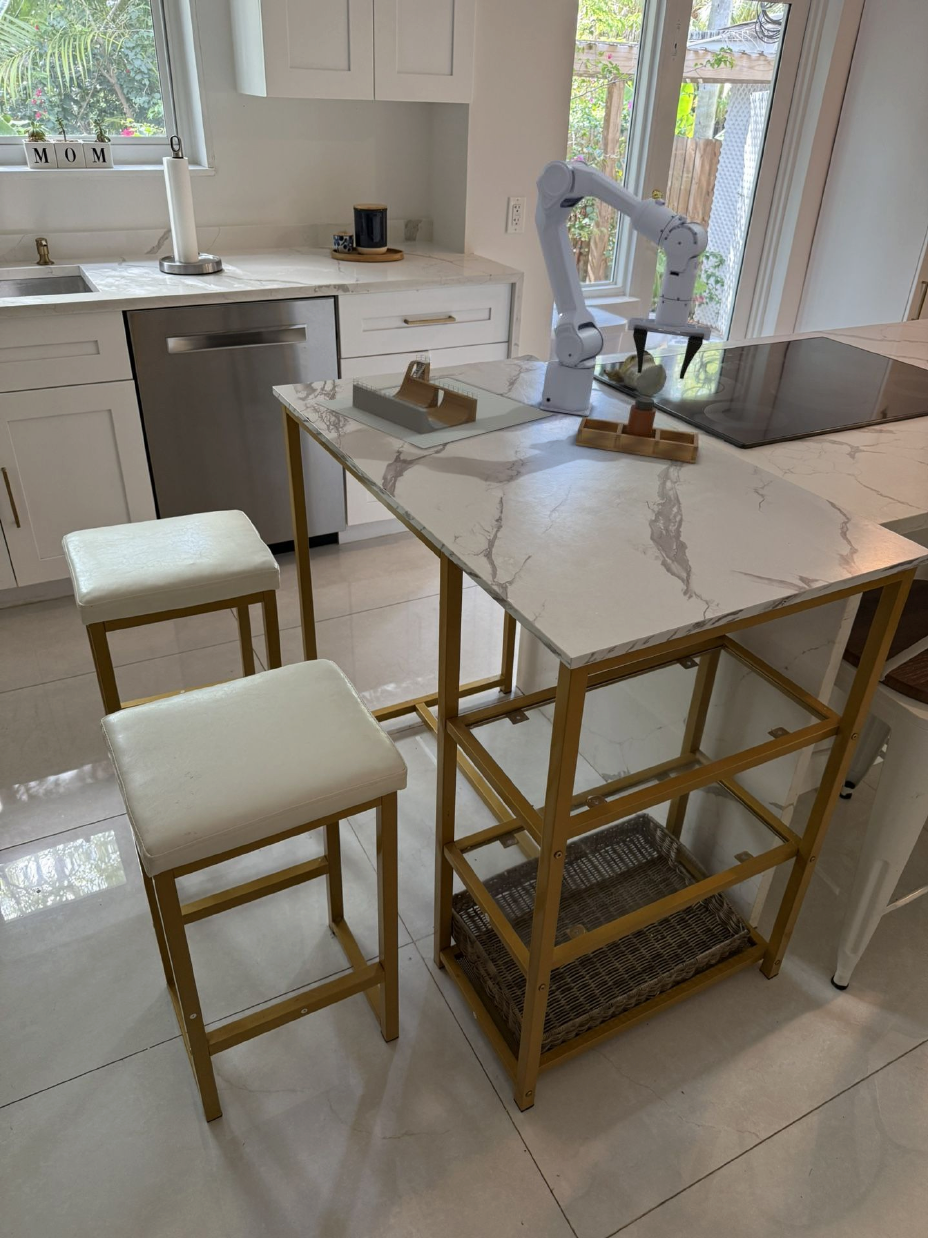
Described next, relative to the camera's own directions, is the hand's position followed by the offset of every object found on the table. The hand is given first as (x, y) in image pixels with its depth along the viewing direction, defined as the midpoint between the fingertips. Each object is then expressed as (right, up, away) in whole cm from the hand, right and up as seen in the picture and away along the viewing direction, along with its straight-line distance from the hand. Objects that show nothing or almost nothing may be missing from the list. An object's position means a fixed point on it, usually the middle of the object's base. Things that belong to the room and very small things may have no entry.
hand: (660, 374), depth 162 cm
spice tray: (-5, -14, -5) cm, 16 cm away
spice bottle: (-5, -14, -5) cm, 16 cm away
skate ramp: (-41, -5, +5) cm, 42 cm away
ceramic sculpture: (+1, +5, +30) cm, 30 cm away
